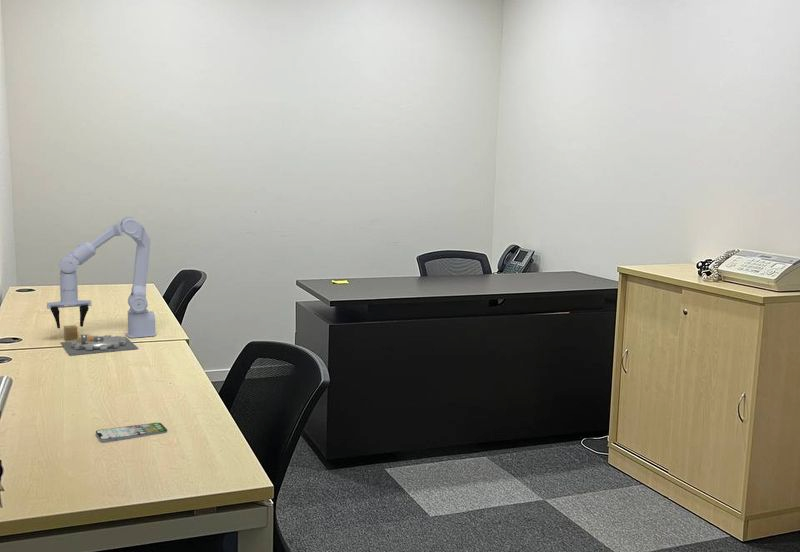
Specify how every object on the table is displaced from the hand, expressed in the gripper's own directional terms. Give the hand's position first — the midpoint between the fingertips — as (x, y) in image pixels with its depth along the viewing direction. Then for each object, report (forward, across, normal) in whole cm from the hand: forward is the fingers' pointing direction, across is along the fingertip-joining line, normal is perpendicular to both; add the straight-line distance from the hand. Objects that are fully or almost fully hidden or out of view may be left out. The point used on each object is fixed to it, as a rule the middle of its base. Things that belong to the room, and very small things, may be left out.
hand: (70, 327), depth 275 cm
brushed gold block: (+5, 0, 0) cm, 5 cm away
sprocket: (+5, -7, +15) cm, 17 cm away
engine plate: (+5, -7, +15) cm, 17 cm away
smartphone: (+5, +2, +113) cm, 113 cm away
